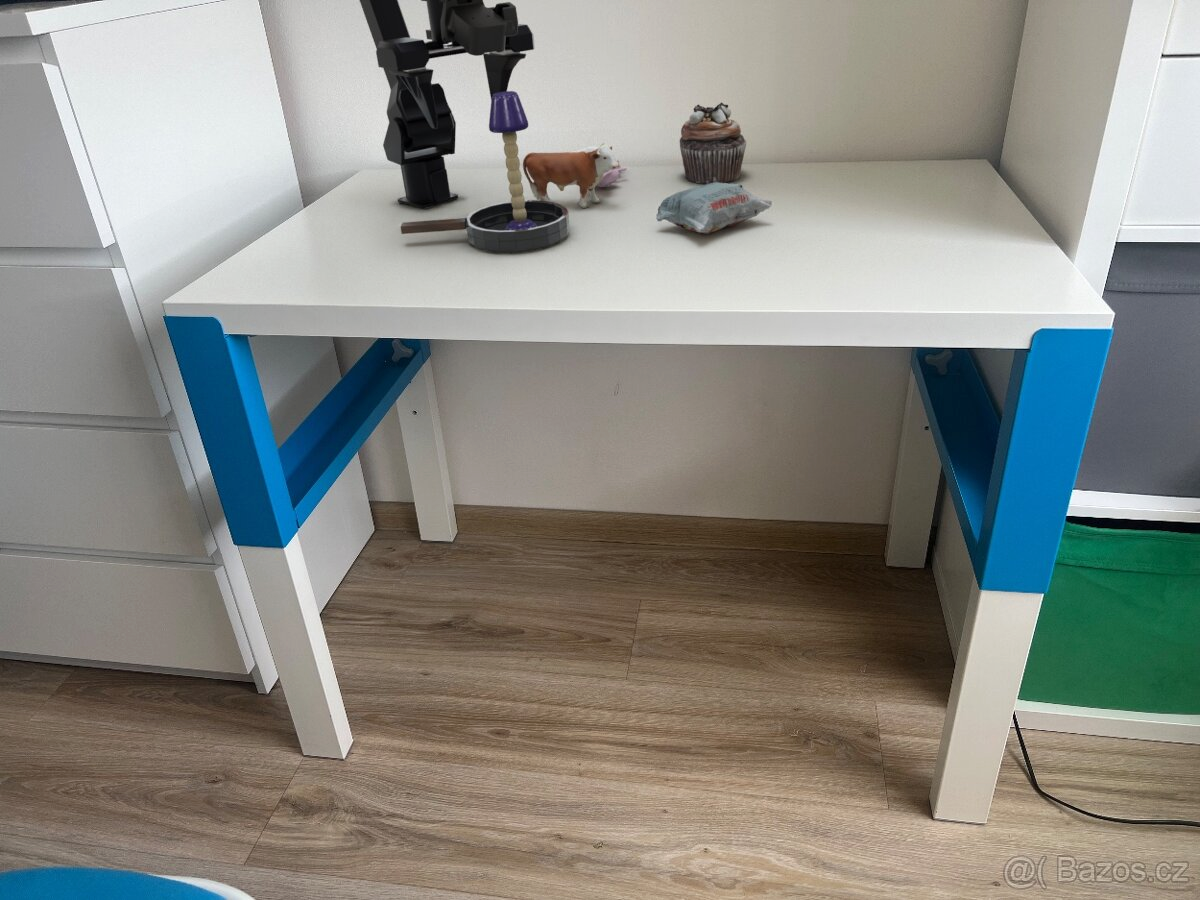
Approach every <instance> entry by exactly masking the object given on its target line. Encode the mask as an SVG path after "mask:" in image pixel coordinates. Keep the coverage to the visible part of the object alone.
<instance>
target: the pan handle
mask: <svg viewBox="0 0 1200 900" xmlns="http://www.w3.org/2000/svg"><path fill="white" fill-rule="evenodd" d="M465 218H466V217H461V218H445V219H433V220H432V219H431V220H419V221H418V220H417V221H403V222H402V223H401V224H400V232H401V234H402V235H406V234H407V235H408V234H409V235H410V234H421V233H423V234H424V233H435V232H449V231H462V230H465V231H466V224H465Z"/></svg>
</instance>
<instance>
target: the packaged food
mask: <svg viewBox="0 0 1200 900" xmlns="http://www.w3.org/2000/svg"><path fill="white" fill-rule="evenodd" d="M772 203H773V201H772V200H769V199H762V198H759V197H757V196H755V195H754V194H752V193H751V192H749V191H747V190H746V189H744V187H743V185H742V184H737V183H729V182H727V183H718V182H716V183H710V184H701V185H698V186H694V187H690V188H687V189H684V190H681V191H678V192H675V193H674V194H672V195H670V196H668V197H666V198H663V200H662V202H661V203H660V205H659V206H658V208H657V213H656V216H655V217H656V218H655V219H656V220H657V222H662V221H663V220H665V221H668V222H669V223H671V224H673V225H676V226H677V227H680V228H682V229H684V230H688V231H692V232H696V233H701V234H710V233H713V232H716V231H719V230H722V229H726V228H730V227H732V226H735V225H737V224H740V223H742V222H744V221H747V220H750V219H752V218H755V217H757V216H758V215H760V213H763V212H765V211H766V210H768V209H770V208H771V207H772Z"/></svg>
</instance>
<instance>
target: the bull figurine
mask: <svg viewBox="0 0 1200 900" xmlns="http://www.w3.org/2000/svg"><path fill="white" fill-rule="evenodd" d="M601 145H602V144H601ZM601 145H600V146H601ZM600 146H599V147H598V146H593V145H591V146H588V147H586V148H583V149H578V150H574V151H566V152H529V153H527V154H526V155H525V157H524V158H523V161H522V170H523V173H524V176H525V177H526V179H527V180H528V183H529V187H530V191H531V193H532V195H533V197H535V200H537V201H548V202H553V200H552V199H551V198H550V197H549V194H548V185H549V183H552V184H554V185H556V187H557V188H558V189H559V191H560V192H563V191H564V190H565V187H567V186H574V185H575V186H579V195H580V197H579V201H578V203H577V204H578V206H580V207H581V208H582V209H587V208H589V205H588V203H587V202H586V196H587V194H588V192H589V195H590V202H593V204H599V203H601V199H599V198H598V196H597V194H596V192H595V189H596V188H595V187H596V186H598V183H599V182H600V181H601V180H602V178H603V176H604V173H607V172H609V171H610V170H615V169H617V168H618V167H619V164H620V162H619V163H618V162H616V161H617V160H616V156H615V153H614V151H613V146H612V145H610V146H609V145H608V144H605V145H602V146H601V147H600ZM531 179H532V180H533V181H532V180H531Z"/></svg>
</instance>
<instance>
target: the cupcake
mask: <svg viewBox="0 0 1200 900" xmlns="http://www.w3.org/2000/svg"><path fill="white" fill-rule="evenodd" d="M731 115H732V111H731V109H730V108H729V104H724V103H723V102H720V103H718V104H717V105H716V106H715V107H711V106H707V107H704V106H702V105H700V104H697V105H695V106H694V108H693V112H692V113H691V114H690V115H689V118H688V120H686V121H685V122H684V123H683V124H682V127H681V128H680V135H681V136H680V138H679V149H680V155H681V159H682V165H683V169H684V175H685V179H686V180H687V181H689V182H691V183H694V184H695V183H696V184H701V185H706V184H710V183H716V182H718V183H731V182H734V181H737V180H738V179H740V177H741V176H740V175H741V170H742V165H743V161H744V157H745V152H746V148H747V143H748V142H747V139H745V138H744V135H743V134H742V133H741V132H742V130H741V129H742V128H741V127H740V124H739V122H737V121H736V120H733V119H730V117H731Z"/></svg>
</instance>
